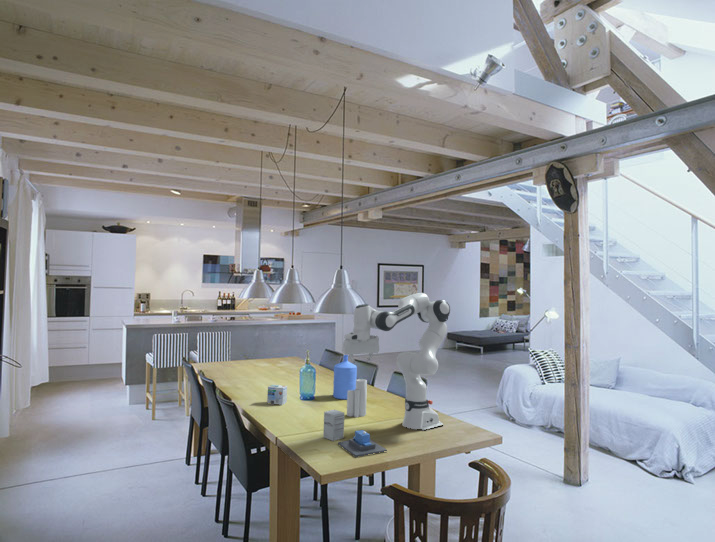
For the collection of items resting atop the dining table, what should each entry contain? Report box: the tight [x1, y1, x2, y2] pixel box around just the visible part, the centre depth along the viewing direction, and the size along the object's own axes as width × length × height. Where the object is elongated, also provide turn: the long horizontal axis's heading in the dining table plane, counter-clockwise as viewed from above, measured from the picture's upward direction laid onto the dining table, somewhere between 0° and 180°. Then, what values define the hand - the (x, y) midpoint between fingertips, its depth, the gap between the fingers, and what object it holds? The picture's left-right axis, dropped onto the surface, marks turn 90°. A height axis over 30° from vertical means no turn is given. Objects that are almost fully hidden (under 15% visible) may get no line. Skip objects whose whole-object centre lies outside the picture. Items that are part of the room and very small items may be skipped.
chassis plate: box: [337, 438, 388, 458], centre depth 207 cm, size 16×18×3 cm
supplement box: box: [322, 409, 345, 442], centre depth 220 cm, size 7×7×13 cm
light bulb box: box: [266, 384, 288, 406], centre depth 282 cm, size 11×7×11 cm, turn 76°
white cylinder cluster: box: [346, 378, 368, 418], centre depth 260 cm, size 11×7×20 cm, turn 116°
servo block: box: [352, 429, 372, 446], centre depth 207 cm, size 4×12×7 cm, turn 28°
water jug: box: [332, 354, 358, 400], centre depth 303 cm, size 16×16×28 cm
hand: (360, 362), depth 233 cm, fingers open, 8 cm apart
